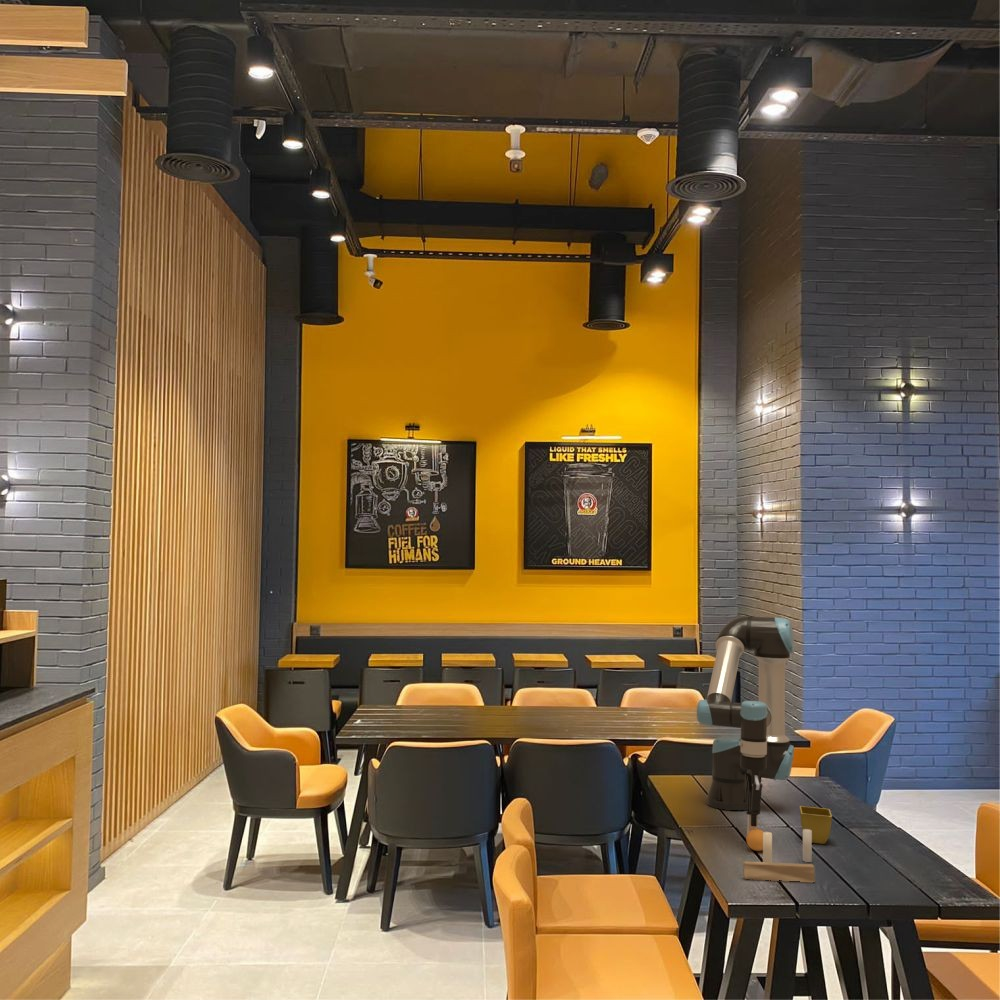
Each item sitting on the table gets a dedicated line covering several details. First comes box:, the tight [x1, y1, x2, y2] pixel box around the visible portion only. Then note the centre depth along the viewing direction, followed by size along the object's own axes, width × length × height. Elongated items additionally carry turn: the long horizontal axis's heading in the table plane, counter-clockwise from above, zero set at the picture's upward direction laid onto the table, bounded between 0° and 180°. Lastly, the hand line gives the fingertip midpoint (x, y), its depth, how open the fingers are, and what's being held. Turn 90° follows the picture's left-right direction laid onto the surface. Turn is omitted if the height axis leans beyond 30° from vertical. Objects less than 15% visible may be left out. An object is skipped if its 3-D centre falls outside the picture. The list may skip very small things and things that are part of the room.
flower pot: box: [799, 805, 833, 845], centre depth 271 cm, size 9×9×9 cm
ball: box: [745, 828, 764, 852], centre depth 261 cm, size 6×6×6 cm
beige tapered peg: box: [802, 829, 813, 863], centre depth 252 cm, size 2×2×8 cm
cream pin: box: [762, 831, 773, 863], centre depth 249 cm, size 2×2×8 cm
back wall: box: [742, 861, 816, 883], centre depth 237 cm, size 2×18×4 cm, turn 87°
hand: (752, 836), depth 264 cm, fingers closed
